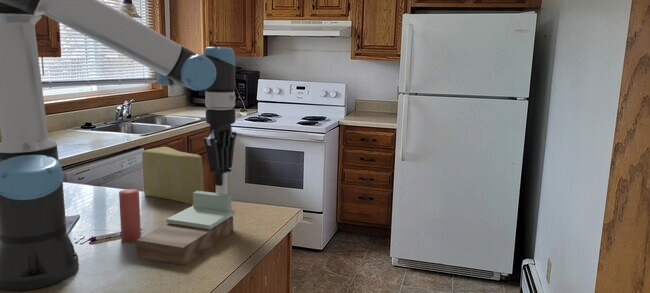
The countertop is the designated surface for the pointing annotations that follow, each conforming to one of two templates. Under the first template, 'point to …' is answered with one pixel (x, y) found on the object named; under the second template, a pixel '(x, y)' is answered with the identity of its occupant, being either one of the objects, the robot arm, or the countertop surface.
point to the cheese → (172, 174)
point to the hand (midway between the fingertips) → (221, 196)
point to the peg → (130, 215)
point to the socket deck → (180, 242)
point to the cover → (204, 211)
